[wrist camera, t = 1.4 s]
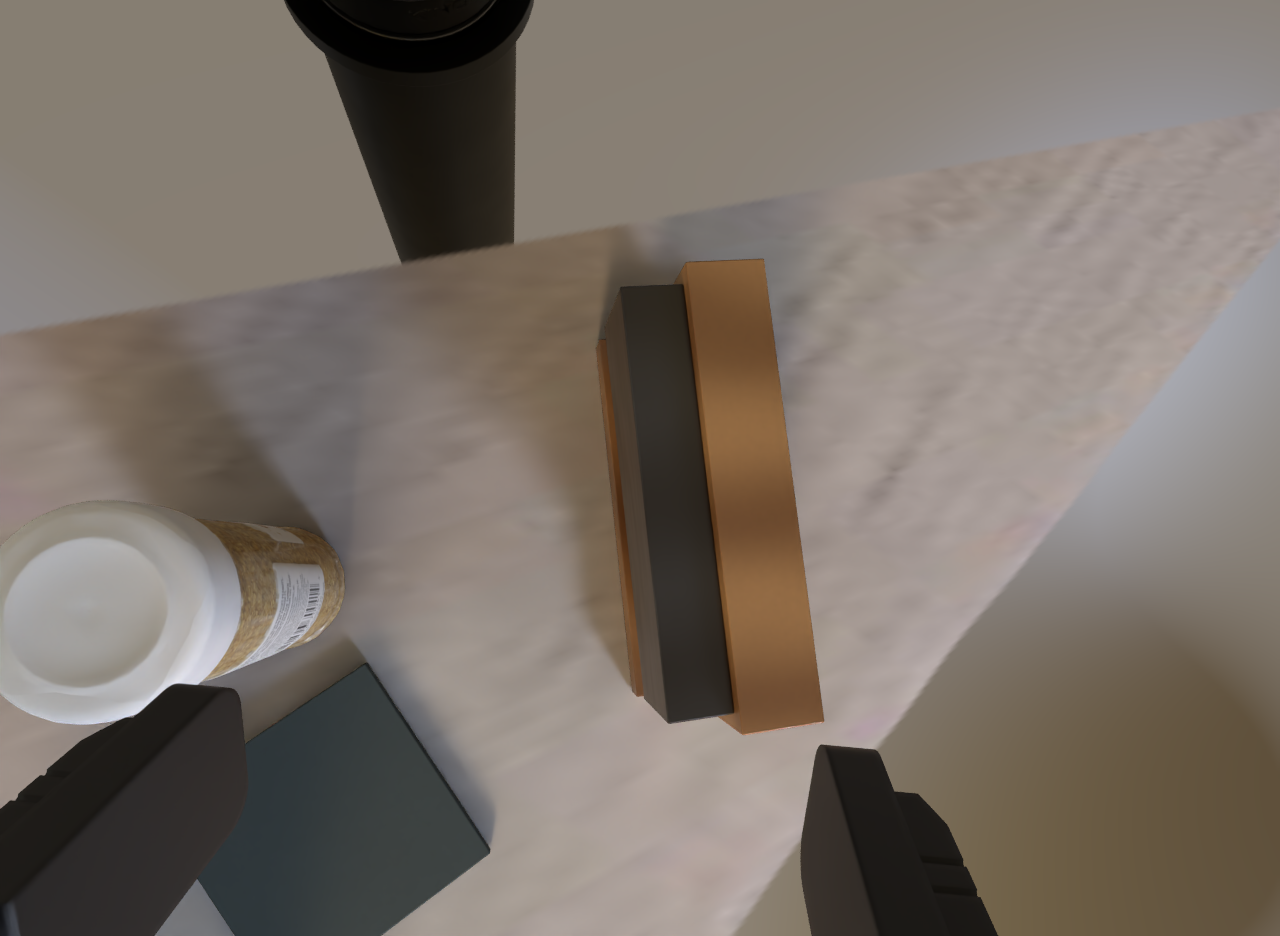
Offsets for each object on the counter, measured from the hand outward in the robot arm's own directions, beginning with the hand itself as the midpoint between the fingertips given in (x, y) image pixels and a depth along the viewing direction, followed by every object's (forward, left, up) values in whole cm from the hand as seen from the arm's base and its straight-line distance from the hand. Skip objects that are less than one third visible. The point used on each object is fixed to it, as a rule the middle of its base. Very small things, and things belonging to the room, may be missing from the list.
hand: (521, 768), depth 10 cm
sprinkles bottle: (-6, -6, -20) cm, 21 cm away
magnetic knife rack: (0, +8, -19) cm, 21 cm away
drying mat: (+2, -9, -19) cm, 22 cm away
